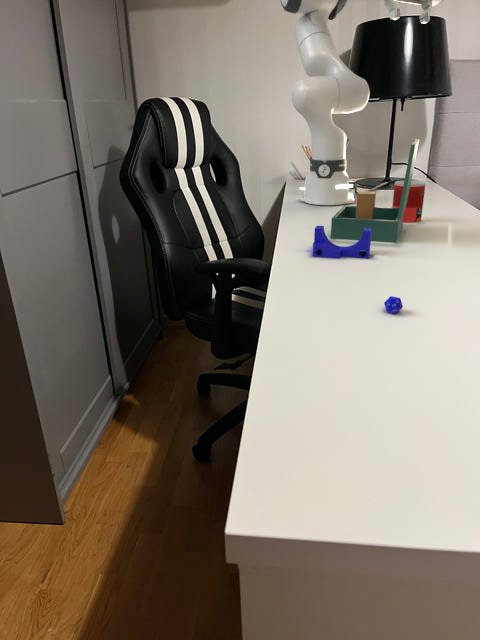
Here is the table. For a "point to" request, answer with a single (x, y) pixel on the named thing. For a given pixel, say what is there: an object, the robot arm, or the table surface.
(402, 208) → the lid
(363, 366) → the table surface
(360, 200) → the carton
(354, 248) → the blue curved bracket
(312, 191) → the robot arm
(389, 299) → the die
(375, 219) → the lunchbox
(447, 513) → the table surface
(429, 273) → the table surface
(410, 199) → the canned food
